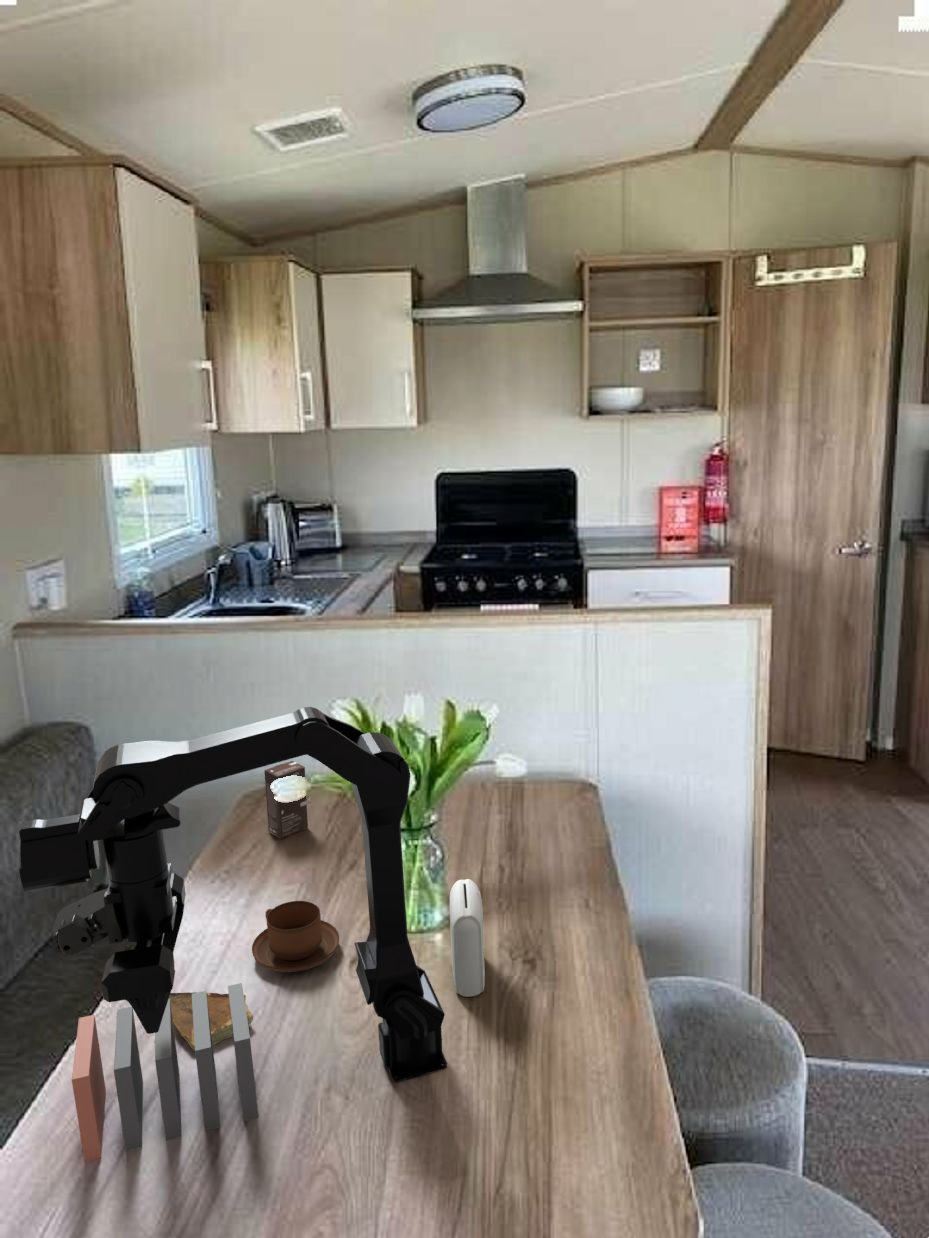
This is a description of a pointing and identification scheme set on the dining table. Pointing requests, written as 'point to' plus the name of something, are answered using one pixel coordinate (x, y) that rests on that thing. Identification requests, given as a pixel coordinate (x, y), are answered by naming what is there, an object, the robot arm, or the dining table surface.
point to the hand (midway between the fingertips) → (157, 1003)
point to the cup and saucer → (295, 938)
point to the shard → (217, 1016)
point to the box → (285, 815)
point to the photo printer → (467, 938)
